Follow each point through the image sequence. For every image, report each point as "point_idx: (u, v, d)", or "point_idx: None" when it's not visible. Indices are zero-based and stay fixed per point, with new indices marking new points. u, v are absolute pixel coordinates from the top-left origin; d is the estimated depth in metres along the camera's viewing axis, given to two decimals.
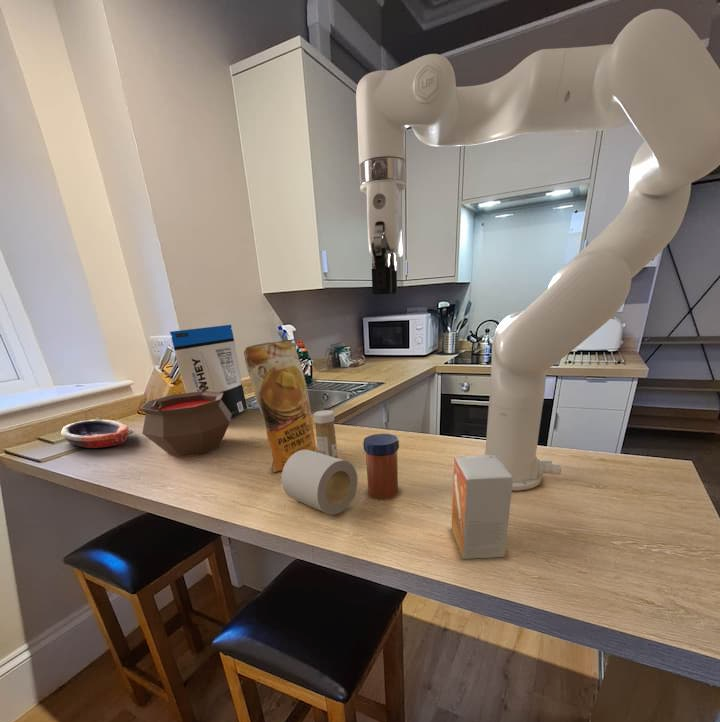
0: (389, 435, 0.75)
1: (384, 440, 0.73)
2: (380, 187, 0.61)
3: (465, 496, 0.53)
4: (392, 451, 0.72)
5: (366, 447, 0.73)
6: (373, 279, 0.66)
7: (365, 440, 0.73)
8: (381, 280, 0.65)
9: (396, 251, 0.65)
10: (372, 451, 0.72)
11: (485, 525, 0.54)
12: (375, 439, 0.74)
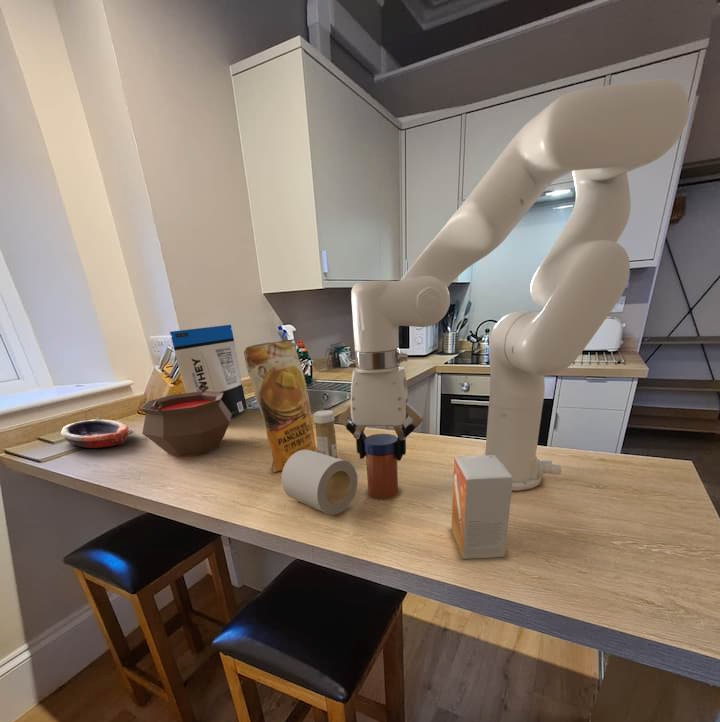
0: (389, 435, 0.75)
1: (384, 440, 0.73)
2: (403, 372, 0.67)
3: (465, 496, 0.53)
4: (392, 451, 0.72)
5: (366, 447, 0.73)
6: (400, 449, 0.72)
7: (365, 440, 0.73)
8: (405, 447, 0.73)
9: None
10: (372, 451, 0.72)
11: (485, 525, 0.54)
12: (375, 439, 0.74)
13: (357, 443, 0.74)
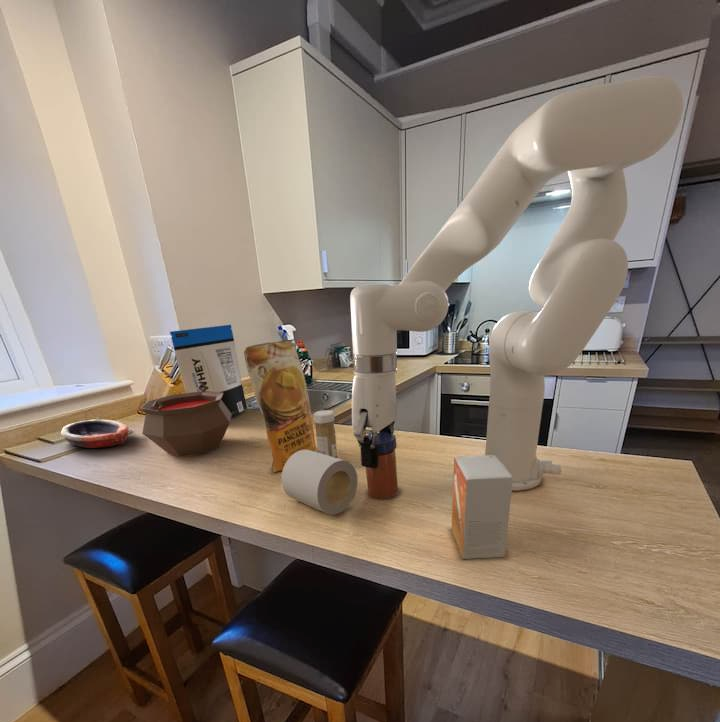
0: (370, 435, 0.75)
1: (383, 436, 0.74)
2: None
3: (465, 496, 0.53)
4: None
5: (384, 447, 0.71)
6: None
7: (376, 443, 0.71)
8: None
9: None
10: (392, 447, 0.72)
11: (485, 525, 0.54)
12: (377, 440, 0.72)
13: (371, 454, 0.70)
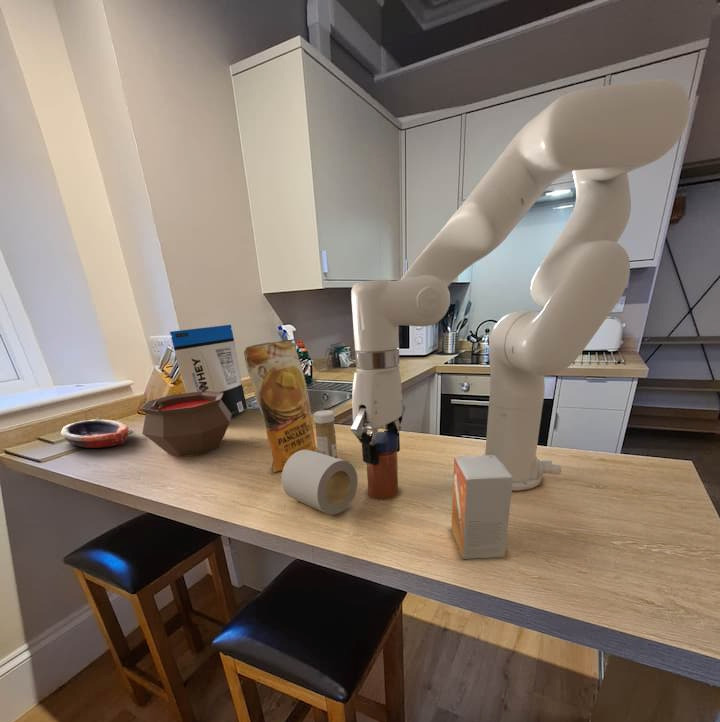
0: None
1: (380, 435, 0.74)
2: None
3: (465, 496, 0.53)
4: None
5: None
6: None
7: (395, 438, 0.72)
8: None
9: None
10: None
11: (485, 525, 0.54)
12: (385, 438, 0.73)
13: (371, 450, 0.70)
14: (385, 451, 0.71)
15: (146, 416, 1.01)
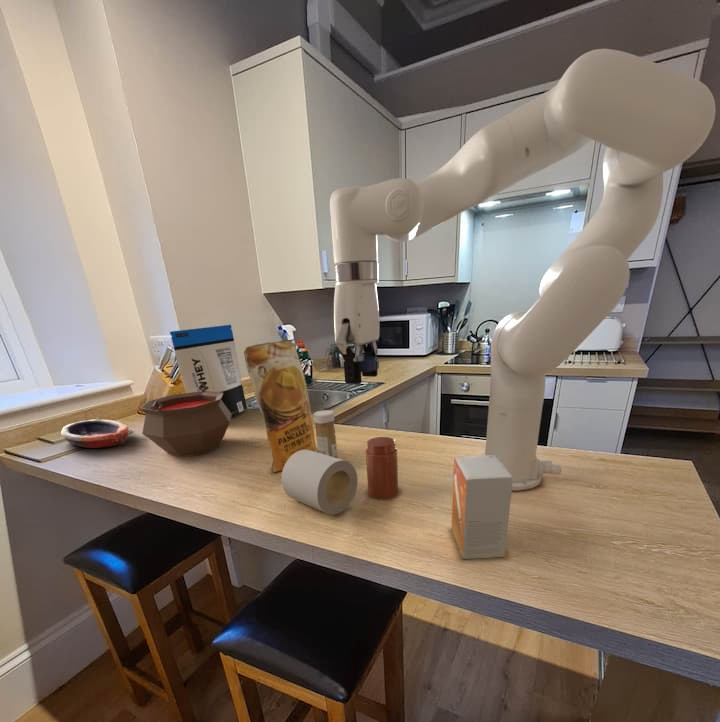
0: None
1: (359, 357, 0.75)
2: None
3: (465, 496, 0.53)
4: None
5: None
6: None
7: (375, 358, 0.73)
8: None
9: None
10: None
11: (485, 525, 0.54)
12: (365, 358, 0.73)
13: (354, 368, 0.71)
14: (367, 369, 0.72)
15: (146, 416, 1.01)
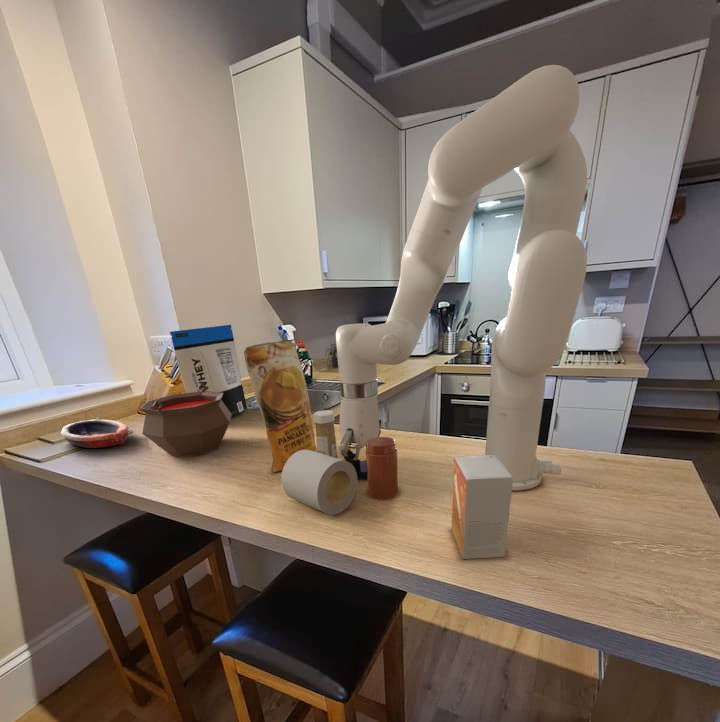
0: None
1: (362, 464, 0.87)
2: None
3: (465, 496, 0.53)
4: None
5: None
6: None
7: None
8: None
9: None
10: None
11: (485, 525, 0.54)
12: None
13: (354, 465, 0.80)
14: None
15: (146, 416, 1.01)
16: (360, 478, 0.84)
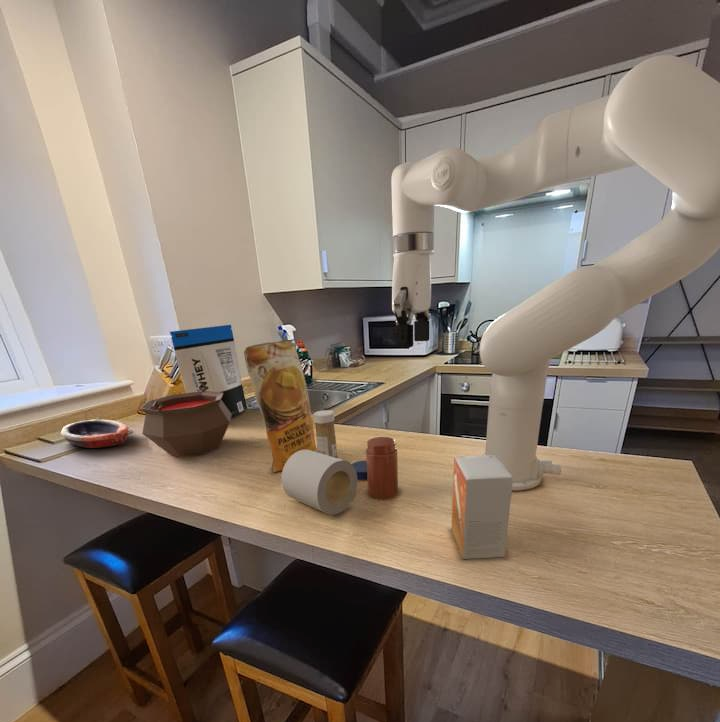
0: None
1: (362, 464, 0.87)
2: None
3: (465, 496, 0.53)
4: None
5: None
6: None
7: None
8: None
9: None
10: None
11: (485, 525, 0.54)
12: None
13: (407, 331, 0.74)
14: None
15: (146, 416, 1.01)
16: (360, 478, 0.84)
